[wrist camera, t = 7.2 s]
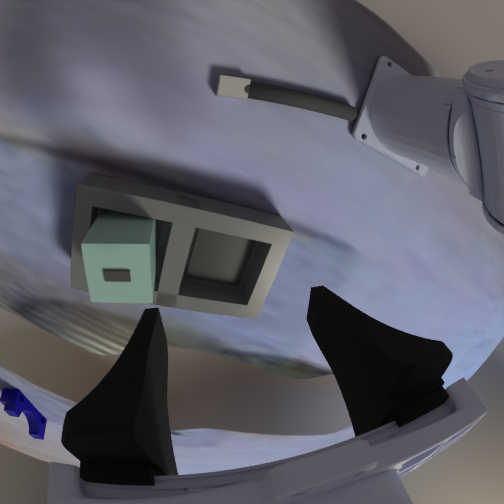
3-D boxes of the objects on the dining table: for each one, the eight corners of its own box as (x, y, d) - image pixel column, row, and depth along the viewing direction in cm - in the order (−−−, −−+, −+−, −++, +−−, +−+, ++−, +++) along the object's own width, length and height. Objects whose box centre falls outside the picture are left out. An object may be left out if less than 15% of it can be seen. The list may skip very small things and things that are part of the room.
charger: (156, 211, 19) (149, 245, 15) (156, 261, 21) (152, 304, 17) (101, 211, 18) (80, 244, 14) (106, 261, 20) (90, 303, 16)
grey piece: (280, 216, 23) (294, 232, 21) (248, 297, 26) (256, 318, 24) (90, 172, 18) (77, 184, 15) (80, 267, 21) (71, 287, 19)
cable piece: (353, 106, 20) (361, 107, 19) (350, 122, 21) (358, 124, 20) (218, 76, 17) (220, 74, 16) (215, 95, 18) (217, 94, 17)
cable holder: (3, 387, 26) (-3, 408, 23) (19, 388, 27) (13, 411, 23) (31, 417, 30) (27, 437, 26) (47, 418, 31) (43, 439, 27)
